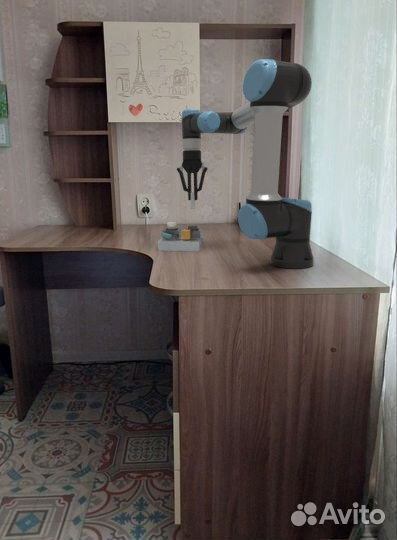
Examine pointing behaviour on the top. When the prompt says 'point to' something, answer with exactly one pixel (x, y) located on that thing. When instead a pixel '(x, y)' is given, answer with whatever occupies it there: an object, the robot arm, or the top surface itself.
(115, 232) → the top surface
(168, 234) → the teal rectangular block
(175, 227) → the button
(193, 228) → the button
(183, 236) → the slider knob
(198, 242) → the panel
